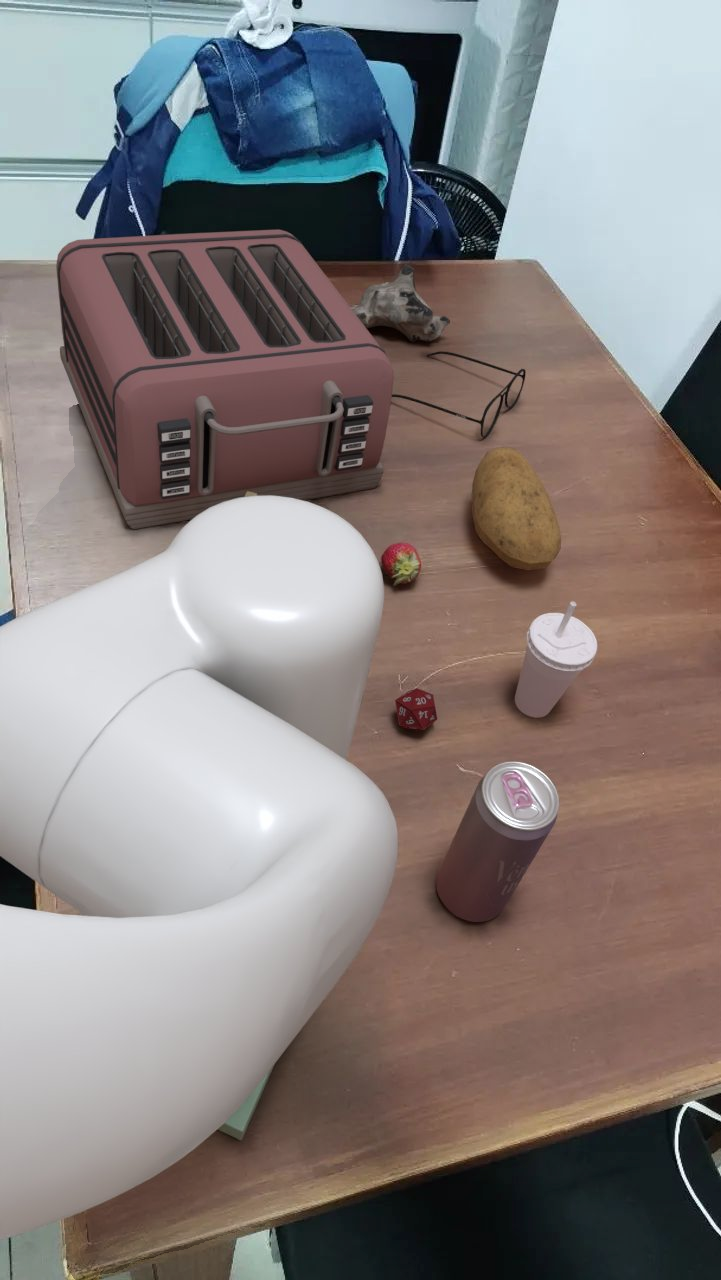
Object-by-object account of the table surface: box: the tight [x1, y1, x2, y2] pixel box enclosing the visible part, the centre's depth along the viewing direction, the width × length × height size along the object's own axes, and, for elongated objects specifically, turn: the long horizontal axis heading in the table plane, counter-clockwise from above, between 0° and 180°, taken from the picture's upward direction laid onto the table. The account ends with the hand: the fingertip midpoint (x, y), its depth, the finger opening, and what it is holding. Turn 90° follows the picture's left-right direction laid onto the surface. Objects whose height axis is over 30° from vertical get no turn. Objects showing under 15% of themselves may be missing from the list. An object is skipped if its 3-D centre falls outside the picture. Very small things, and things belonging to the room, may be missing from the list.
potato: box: [471, 446, 562, 571], centre depth 101 cm, size 9×16×9 cm, turn 10°
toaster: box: [55, 229, 395, 530], centre depth 104 cm, size 30×36×17 cm
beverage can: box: [435, 760, 560, 923], centre depth 70 cm, size 6×6×15 cm
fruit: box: [380, 542, 422, 586], centre depth 97 cm, size 4×6×5 cm
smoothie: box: [514, 601, 598, 719], centre depth 84 cm, size 6×6×14 cm
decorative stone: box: [350, 264, 451, 343], centre depth 129 cm, size 16×9×10 cm, turn 95°
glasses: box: [392, 350, 527, 438], centre depth 122 cm, size 14×15×5 cm
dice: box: [394, 687, 438, 732], centre depth 84 cm, size 4×4×4 cm
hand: (233, 943), depth 52 cm, fingers closed
